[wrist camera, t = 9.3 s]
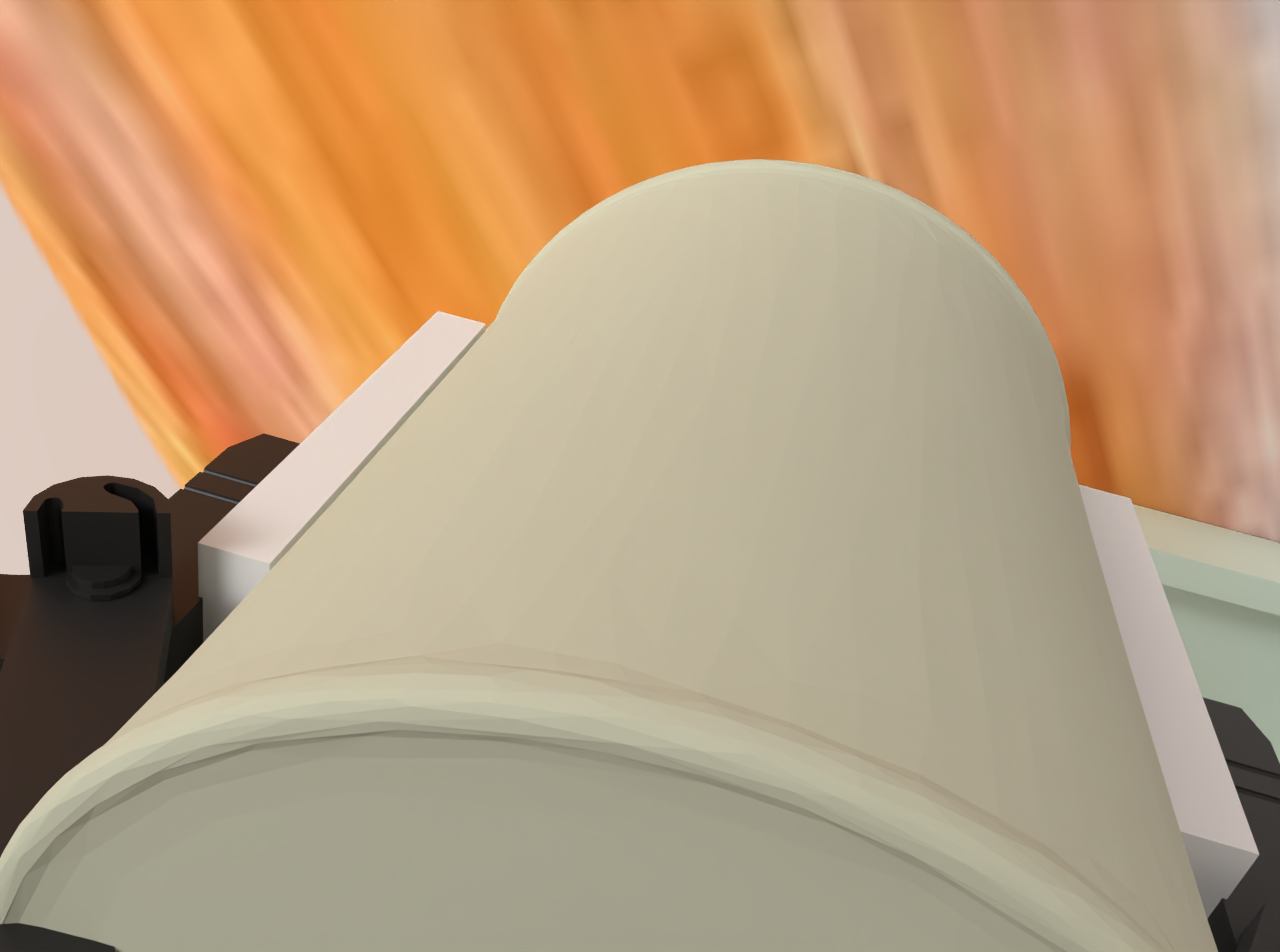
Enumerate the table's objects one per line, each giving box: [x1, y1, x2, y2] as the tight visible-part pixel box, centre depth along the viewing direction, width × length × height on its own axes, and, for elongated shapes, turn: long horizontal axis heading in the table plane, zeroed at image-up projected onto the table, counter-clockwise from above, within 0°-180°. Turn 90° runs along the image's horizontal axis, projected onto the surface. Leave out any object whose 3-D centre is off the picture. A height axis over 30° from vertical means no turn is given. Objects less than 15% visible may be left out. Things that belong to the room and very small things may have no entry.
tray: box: [1133, 504, 1280, 763], centre depth 35 cm, size 15×15×2 cm
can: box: [0, 159, 1218, 952], centre depth 12 cm, size 9×9×12 cm
